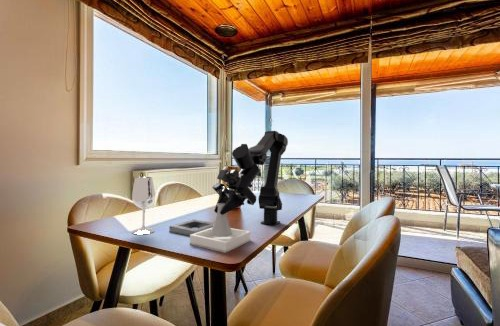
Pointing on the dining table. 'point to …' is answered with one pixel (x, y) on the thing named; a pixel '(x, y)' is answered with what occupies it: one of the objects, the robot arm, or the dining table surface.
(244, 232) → the tray
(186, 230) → the holder
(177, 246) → the dining table surface
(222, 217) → the flask
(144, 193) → the wineglass
